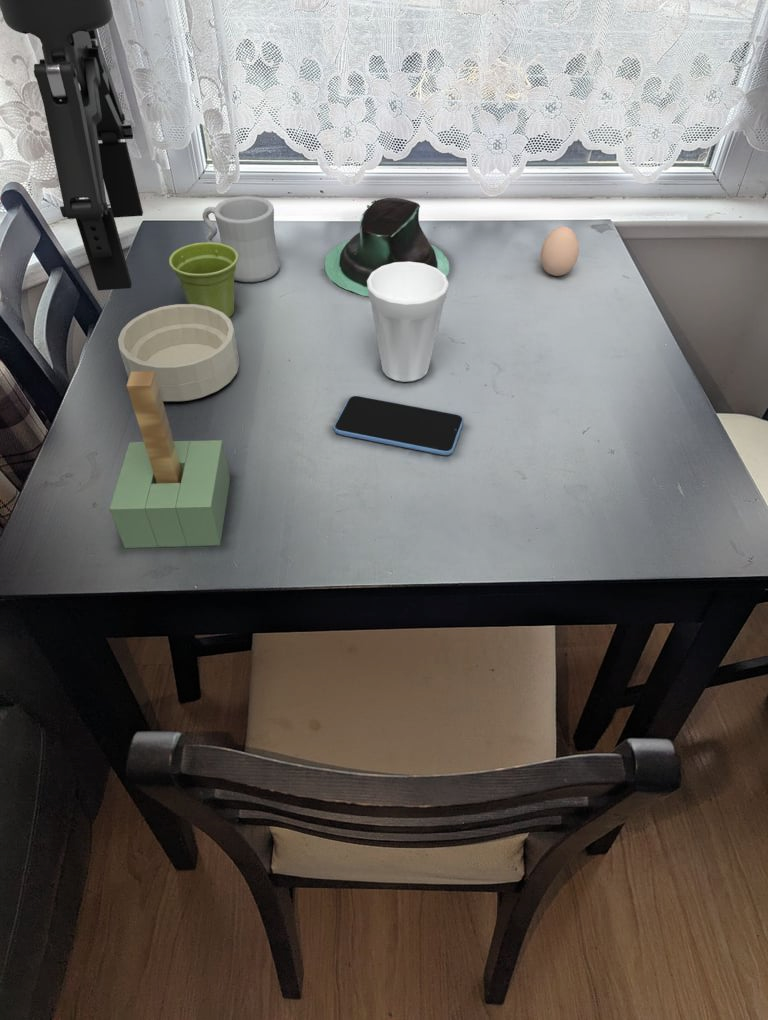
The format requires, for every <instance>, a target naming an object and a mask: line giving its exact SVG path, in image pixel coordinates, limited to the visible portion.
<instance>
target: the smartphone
mask: <svg viewBox="0 0 768 1020" xmlns="http://www.w3.org/2000/svg"><path fill="white" fill-rule="evenodd" d="M463 426H464V417H462V416H461V415H459V414H455V413H450V412H445V411H440V410H435V409H429V408H425V407H424V408H423V407H419V406H418V407H417V406H413V405H408V404H402V403H397V402H392V401H386V400H381V399H376V398H370V397H365V396H360V395H352V396H349V398H348V399H347V400H346V402H345V404H344V406H343V408H342V409H341V412H340V414H339V416H338V417H337V419H336V421H335V423H334V426H333V430H334V433H336V434H337V435H341V436H345V437H351V438H355V439H360V440H366V441H369V442H374V443H375V442H376V443H381V444H386V445H391V446H396V447H402V448H405V449H411V450H414V451H415V450H416V451H420V452H425V453H431V454H436V455H441V456H449V455H451V454H453V452H454V450H455V448H456V445H457V442H458V440H459V437H460V435H461V431H462V428H463Z"/></svg>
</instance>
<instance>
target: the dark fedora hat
mask: <svg viewBox="0 0 768 1020" xmlns="http://www.w3.org/2000/svg"><path fill="white" fill-rule="evenodd" d="M420 208H421V204H419V203H418V202H416V201H412V200H409V199H405V198H401V197H385V198H379V199H374V200H371V201H370V204H367V205H366V209H365V211H363V213H362V214H361V216H360V221H359V232H357V233H356V234H355V235H353V237H351V238H350V239H348V240H346V241H342V242H341V243H340V244H339V245H337V246H335V247H333V248H332V249H331V250H330V251H329V252H328V253H327V255H326V257H325V259H324V270H325V273H326V275H327V277H328V279H329V280H330V281H331V282H332V283H334V284H336V285H337V286H339V287H340V288H342V289H344V290H346V291H350V292H353V293H355V294H358V295H360V296H363V297H369V294H368V287H367V280H368V278H369V276H370V274H371V273H372V272H373V271H375V270H376V269H378V268H380V267H381V266H384V265H387V264H391V263H395V262H416V263H424V264H427V265H429V266H432V267H435V268H437V269H438V270H439V271H441V272H442V273H443V274H444V275H445V276H446V278H447V277H448V275H449V273H450V263H449V259H448V258H447V256H446V255H445V254H444V253H443V251H442V250H440V249H439V248H437V247H436V246H434V245H432V244H430V241H429V240H428V238H427V236H426V235H425V232H424V231H423V229H422V227H421V224H420V218H419V216H420Z"/></svg>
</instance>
